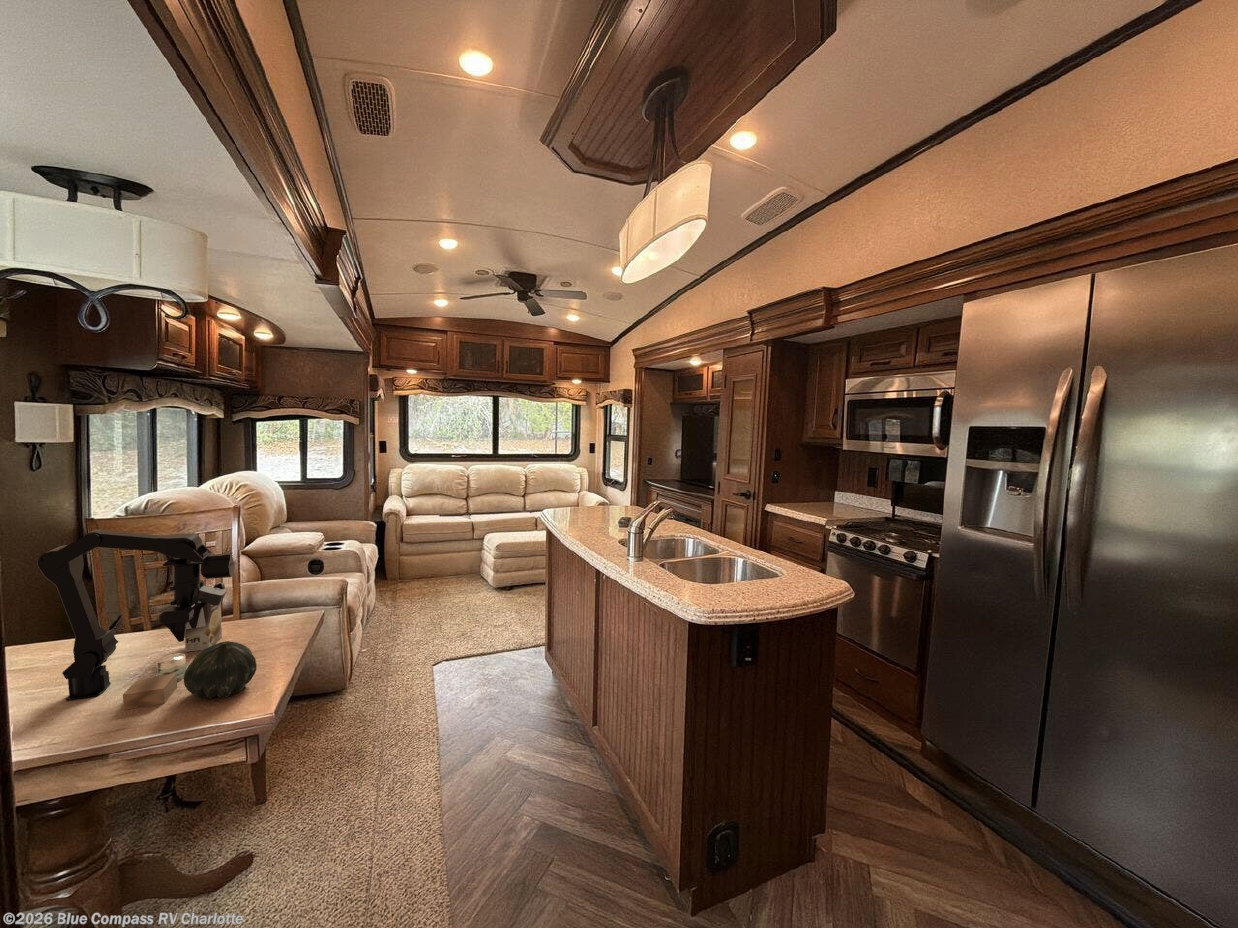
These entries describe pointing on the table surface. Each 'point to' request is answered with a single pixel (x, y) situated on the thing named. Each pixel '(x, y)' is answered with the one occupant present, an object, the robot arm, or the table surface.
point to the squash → (220, 670)
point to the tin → (172, 665)
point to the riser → (150, 691)
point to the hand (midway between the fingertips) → (187, 634)
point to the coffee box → (204, 629)
